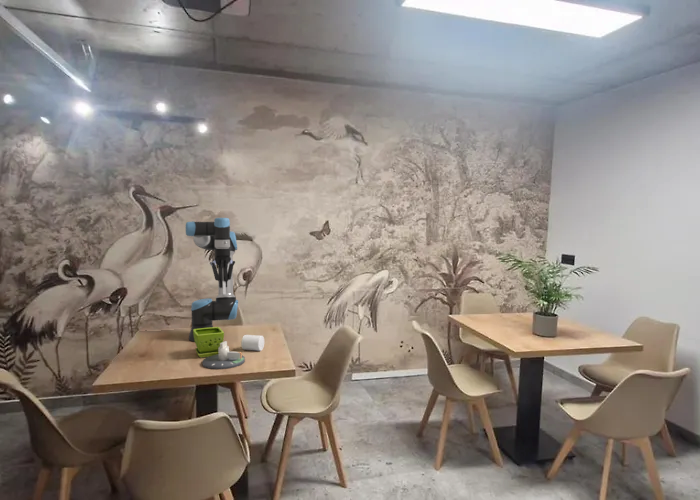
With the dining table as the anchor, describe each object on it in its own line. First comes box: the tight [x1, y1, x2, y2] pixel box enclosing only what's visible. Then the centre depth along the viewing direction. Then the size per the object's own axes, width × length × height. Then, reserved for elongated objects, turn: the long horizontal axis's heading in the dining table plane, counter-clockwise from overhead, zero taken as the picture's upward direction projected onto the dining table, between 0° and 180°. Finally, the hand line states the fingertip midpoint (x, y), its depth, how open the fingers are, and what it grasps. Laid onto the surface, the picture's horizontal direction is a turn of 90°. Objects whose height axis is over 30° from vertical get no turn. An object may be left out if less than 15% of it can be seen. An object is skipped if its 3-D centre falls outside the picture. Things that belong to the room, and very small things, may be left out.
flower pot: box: [193, 326, 225, 359], centre depth 231 cm, size 14×14×13 cm
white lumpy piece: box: [218, 340, 242, 361], centre depth 216 cm, size 12×5×8 cm, turn 77°
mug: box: [240, 334, 265, 352], centre depth 241 cm, size 12×10×8 cm
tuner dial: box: [202, 354, 246, 370], centre depth 217 cm, size 20×20×2 cm
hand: (223, 293), depth 226 cm, fingers closed
